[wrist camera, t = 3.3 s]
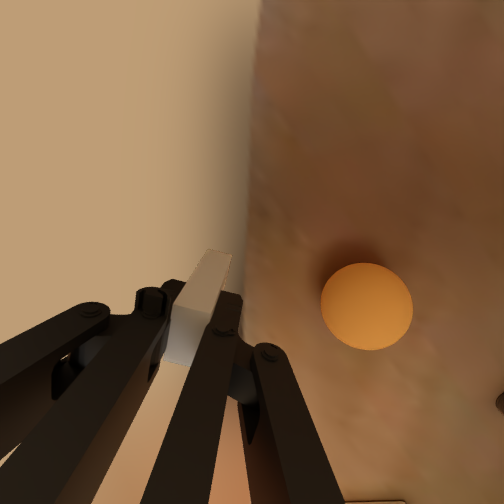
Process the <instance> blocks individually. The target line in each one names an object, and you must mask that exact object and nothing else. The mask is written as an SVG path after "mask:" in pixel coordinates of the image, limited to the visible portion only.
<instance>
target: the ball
mask: <svg viewBox="0 0 504 504" xmlns="http://www.w3.org/2000/svg"><path fill="white" fill-rule="evenodd" d="M321 311H322V316H323V319H324V321H325V323H326V325H327V327H328V328H329V330H330V331H331V332H332V333H333V334H334V335H335V336H336V337H337V338H338V339H339V340H340V341H342V342H344V343H345V344H347V345H349V346H351V347H354V348H358V349H363V350H377V349H382V348H385V347H388V346H390V345H392V344H394V343H395V342H397V341H398V340H399V339H400V338H401V337H402V336H403V335H404V334H405V333H406V331H407V330H408V328H409V326H410V323H411V320H412V315H413V304H412V299H411V295H410V293H409V291H408V289H407V287H406V285H405V284H404V283H403V281H402V280H401V279H400V278H399V277H398V276H397V275H396V274H395V273H393V272H392V271H390V270H389V269H387V268H385V267H382V266H380V265H377V264H372V263H355V264H351V265H348V266H345V267H343V268H341V269H340V270H338V271H337V272H335V273H334V274H333V275H332V276H331V277H330V278H329V280H328V281H327V283H326V284H325V286H324V289H323V291H322V295H321Z"/></svg>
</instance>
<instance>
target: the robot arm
mask: <svg viewBox="0 0 504 504" xmlns="http://www.w3.org/2000/svg"><path fill="white" fill-rule="evenodd" d="M231 258H232V255H231V254H227V253H223V252H218V251H214V250H211V249H208V250H207V251H206V253H205V254H204V256H203V257H202V259H201V261H200V262H199V264H198V265H197V267H196V268H195V270H194V272H193V273H192V275H191V276H190V278H189V280H188V281H187V282H182V281H179V280H175V279H171V280H169V281H166V282H164V284H163V285H162V286H161V288H158V287H145V288H142V289H139V290H138V291H137V292H136V300H135V308H134V311H133V312H132V313H131V314H128V315H113V314H110V308H109V307H108V306H106V305H105V304H103V303H98V302H86V303H81V304H78V305H76V306H74V307H72V308H70V309H68V310H66V311H64V312H62V313H60V314H58V315H56V316H54V317H52V318H50V319H48V320H46V321H44V322H43V323H41V324H39V325H37V326H35V327H33V328H31V329H29V330H27V331H25V332H23V333H21V334H19V335H17V336H15V337H14V338H11V339H9V340H7V341H5V342H4V343H2V344H0V460H1V459H2V458H3V457H5V456H6V455H7V454H8V453H9V452H10V451H12V450H13V449H14V448H15V447H16V446H18V445H19V444H20V443H21V444H20V445H19V446H18V447H17V448H16V449H15V451H14V452H13V453H12V454H11V455H10V457H9V458H8V459H7V460H6V461H5V462H4V464H3V465H2V466H1V467H0V504H91V503H92V501H93V499H94V496H95V495H96V493H97V491H98V489H99V487H100V485H101V483H102V481H103V479H104V477H105V475H106V473H107V471H108V469H109V467H110V465H111V463H112V461H113V459H114V457H115V455H116V453H117V451H118V449H119V447H120V445H121V443H122V441H123V439H124V437H125V435H126V433H127V431H128V429H129V427H130V425H131V423H132V422H133V420H134V417H135V416H136V414H137V411H138V410H139V408H140V406H141V404H142V402H143V399H144V398H145V396H146V394H147V392H148V390H149V388H150V386H151V384H152V382H153V380H154V378H155V376H156V374H157V372H158V370H159V366H160V360H161V358H162V356H163V353H164V352H165V353H164V359H163V360H164V361H168V362H172V363H176V364H181V365H185V366H189V367H190V370H189V373H188V375H187V378H186V381H185V383H184V386H183V389H182V391H181V394H180V397H179V400H178V403H177V405H176V408H175V410H174V413H173V416H172V418H171V421H170V424H169V426H168V429H167V432H166V435H165V437H164V440H163V443H162V445H161V448H160V451H159V454H158V456H157V459H156V462H155V464H154V467H153V470H152V472H151V475H150V478H149V480H148V483H147V486H146V488H145V491H144V494H143V497H142V499H141V502H140V504H208V502H209V495H210V490H211V484H212V479H213V473H214V468H215V462H216V457H217V451H218V445H219V439H220V434H221V428H222V422H223V417H224V411H225V406H226V400H227V395H228V396H230V397H232V398H233V399H235V400H237V401H238V405H237V406H238V413H239V420H240V427H241V433H242V441H243V448H244V455H245V462H246V469H247V476H248V483H249V490H250V497H251V504H345V501H344V499H343V496H342V494H341V491H340V489H339V486H338V484H337V481H336V478H335V476H334V473H333V471H332V468H331V466H330V463H329V461H328V458H327V456H326V453H325V451H324V448H323V446H322V443H321V441H320V438H319V436H318V433H317V431H316V428H315V426H314V423H313V421H312V418H311V415H310V413H309V410H308V408H307V405H306V403H305V400H304V398H303V395H302V393H301V390H300V388H299V385H298V383H297V380H296V378H295V375H294V373H293V370H292V368H291V365H290V363H289V360H288V358H287V355H286V354H285V352H284V351H283V350H282V349H281V348H280V347H278V346H276V345H274V344H271V343H259V344H257V345H256V346H255V347H253V346H251V345H249V344H247V343H245V342H244V341H243V340H242V339H241V338H240V336H239V335H238V327H239V321H240V315H241V310H242V304H243V300H242V298H241V296H240V295H238V294H234V293H230V292H226V291H224V288H225V283H226V279H227V274H228V270H229V267H230V262H231ZM66 355H68V356H67V357H65V356H66ZM63 357H65V358H64V359H62V358H63ZM61 359H62V360H61Z"/></svg>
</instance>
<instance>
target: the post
mask: <svg viewBox="0 0 504 504" xmlns="http://www.w3.org/2000/svg"><path fill="white" fill-rule="evenodd" d="M496 406H497V408H498V410H499V411H500V412H501V413H502V414H503V415H504V393H503V394H501V395H500V396H499V397H498V399H497V401H496Z"/></svg>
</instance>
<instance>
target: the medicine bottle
mask: <svg viewBox="0 0 504 504" xmlns="http://www.w3.org/2000/svg"><path fill="white" fill-rule="evenodd" d="M345 504H406V503H405V502H403V501H388V502H347V503H345Z"/></svg>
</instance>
